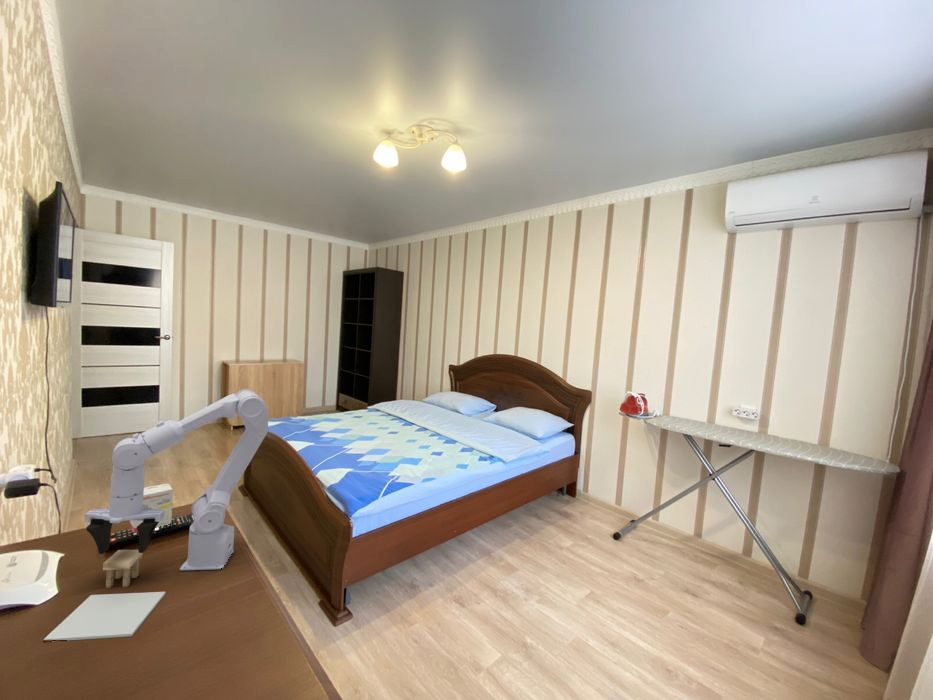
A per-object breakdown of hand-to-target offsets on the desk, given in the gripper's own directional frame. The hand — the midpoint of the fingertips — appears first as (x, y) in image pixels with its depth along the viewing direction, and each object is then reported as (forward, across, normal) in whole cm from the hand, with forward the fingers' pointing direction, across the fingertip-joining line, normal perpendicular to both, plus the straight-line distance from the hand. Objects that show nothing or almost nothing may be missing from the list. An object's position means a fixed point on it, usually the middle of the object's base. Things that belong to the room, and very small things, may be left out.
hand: (123, 551), depth 88 cm
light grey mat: (+7, +4, -11) cm, 14 cm away
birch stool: (+7, 0, 0) cm, 7 cm away
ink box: (+7, -6, +23) cm, 25 cm away
